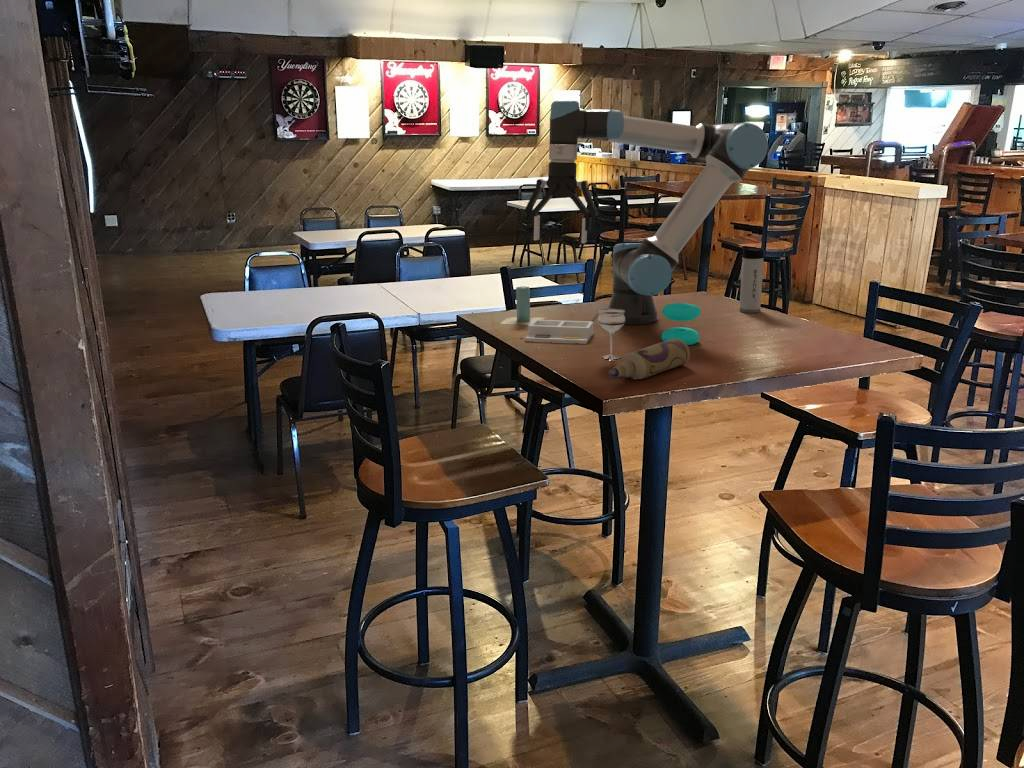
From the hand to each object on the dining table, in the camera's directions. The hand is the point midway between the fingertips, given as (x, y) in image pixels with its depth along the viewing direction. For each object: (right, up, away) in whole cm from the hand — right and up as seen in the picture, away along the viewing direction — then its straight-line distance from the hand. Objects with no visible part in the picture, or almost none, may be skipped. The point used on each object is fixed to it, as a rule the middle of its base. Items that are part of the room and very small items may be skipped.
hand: (560, 241), depth 228 cm
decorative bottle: (+18, -37, -33) cm, 53 cm away
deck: (-10, -21, +20) cm, 31 cm away
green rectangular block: (-10, -20, +20) cm, 30 cm away
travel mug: (+61, -17, +31) cm, 70 cm away
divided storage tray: (0, -26, +3) cm, 26 cm away
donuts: (+32, -28, -5) cm, 43 cm away
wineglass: (+12, -33, -19) cm, 40 cm away
